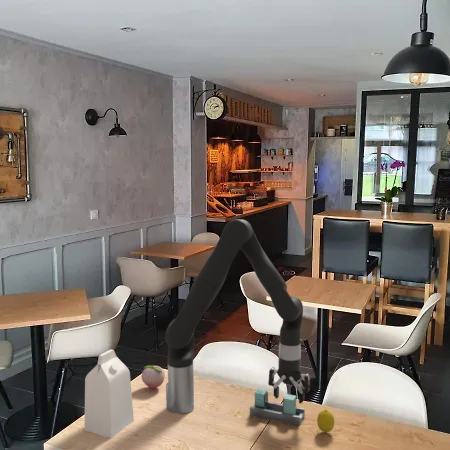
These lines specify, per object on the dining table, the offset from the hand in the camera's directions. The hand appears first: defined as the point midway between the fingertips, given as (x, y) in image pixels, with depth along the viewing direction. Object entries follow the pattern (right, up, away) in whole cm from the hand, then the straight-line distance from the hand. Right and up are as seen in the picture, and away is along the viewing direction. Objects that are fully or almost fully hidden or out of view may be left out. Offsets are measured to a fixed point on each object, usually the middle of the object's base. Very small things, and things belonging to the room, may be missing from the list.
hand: (288, 400), depth 168 cm
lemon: (+11, -8, -8) cm, 16 cm away
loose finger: (+1, -6, +1) cm, 6 cm away
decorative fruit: (-50, -5, +26) cm, 57 cm away
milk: (-62, -8, -2) cm, 62 cm away
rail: (-4, -7, +3) cm, 8 cm away
